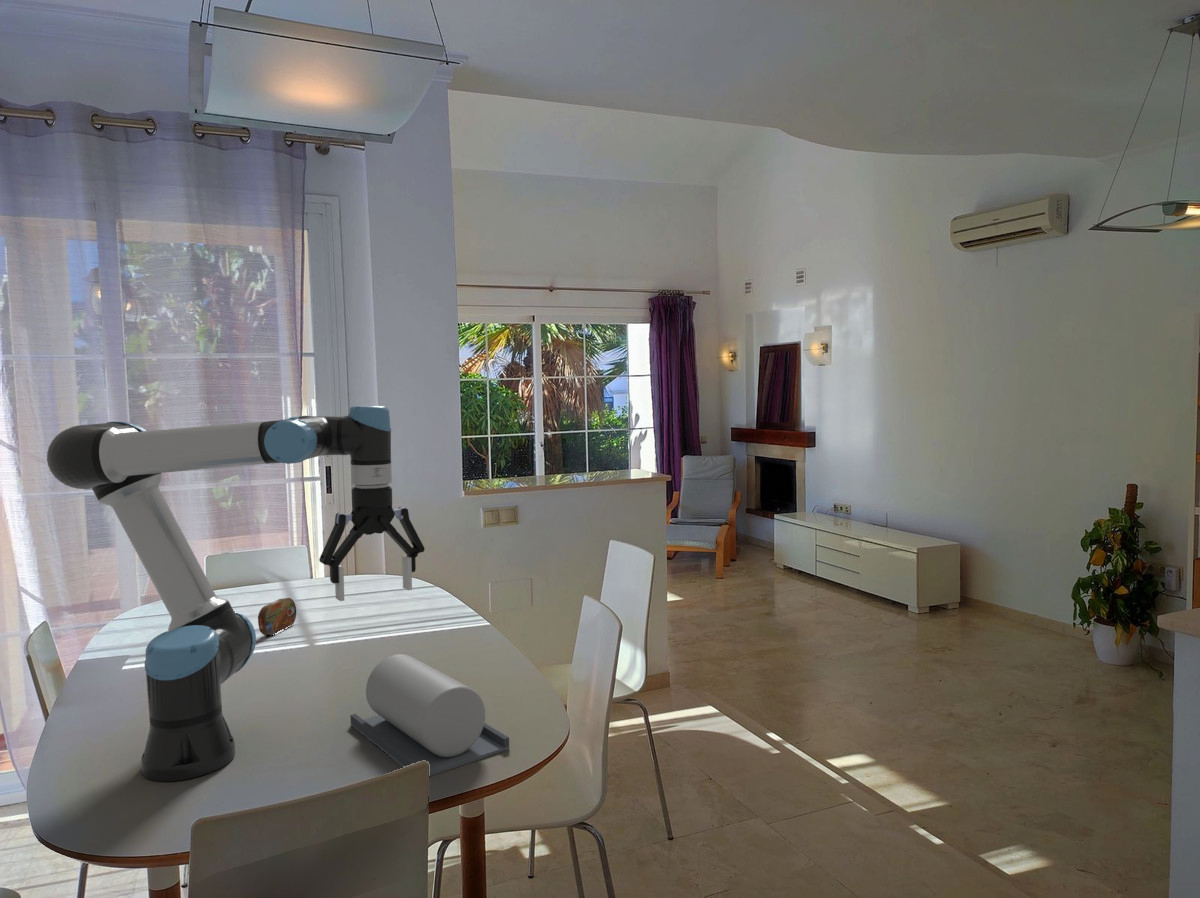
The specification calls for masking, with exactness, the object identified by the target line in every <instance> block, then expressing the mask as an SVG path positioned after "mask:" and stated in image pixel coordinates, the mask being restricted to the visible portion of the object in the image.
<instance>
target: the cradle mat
mask: <svg viewBox="0 0 1200 898" xmlns="http://www.w3.org/2000/svg"><path fill="white" fill-rule="evenodd" d="M349 715H350V716H349V717H350V718H349V719H350V727H352V726H353V727H354V728H355V729H356V731H357V732H358V731H359V732H360V733H361V734H360V733H359V732H358V733H359V734H360V735H362V734H363V735H364V736H365V737H366V738H365V739H367V740H368V741H369V740H370V741H371V742H370V741H369V742H370V743H372V742H373V743H374V744H375V745H377V746H378V747H379V748H380V749H381V750H380V749H379V748H378V747H377V746H376V747H377V748H378V749H379V750H380V751H382V750H383V751H384V752H385V753H386V754H385V753H384V752H383V751H382V752H383V753H384V754H385V755H387V754H388V755H389V756H390V757H391V758H390V757H389V756H388V755H387V756H388V757H389V758H390V759H392V760H393V761H394V762H395V763H397V765H399V766H400V767H401V768H403V766H407V765H410V764H412V763H416V762H418V761H422V760H426V761H428V762H429V764H430V776H429V777H433V776H434V775H437V774H438V775H439V774H440V773H444V772H447V771H449V770H452V769H453V770H454V769H455V768H459V767H462V766H464V765H467V764H470V763H472V762H475V761H479V760H482V759H485V758H488V757H491V756H495V755H497V754H500V753H502V752H503V753H504V752H505V751H509V750H510V737H508V735H505V734H504V733H502V732H500V731H499V730H497V729H495V728H494V727H492V726H490V725H489V724H487V723H486V722H485V723H484V727H483V730H482V732H481V734H480V736H479V738H478V739H477V741H476V742H475V743H474V744H473V745H472V746H471V747H470V748H469V749H468V750H467V751H465V752H464V753H462V754H460V755H457V756H454V757H441V756H438V755H435V754H434V753H432V752H431V751H429V750H428V749H427V748H425V747H424V746H422V745H421V744H419V743H418V742H417V741H415V740H414V739H412V738H411V737H410V736H408V735H407V734H405V733H404V732H402V731H401V730H400V729H398V728H397V727H395V726H394V725H392V724H391V723H390V722H388V721H387V720H385V719H384V718H383V717H381V716H380V715H378V714H376V715H375V716H370V717H366V718H361V716H359V715H358V714H357V713H353V714H349ZM353 727H352V728H353ZM354 728H353V729H354ZM355 729H354V730H355ZM363 735H362V736H363ZM364 736H363V737H364ZM373 743H372V744H373ZM374 744H373V745H374ZM375 745H374V746H375Z"/></svg>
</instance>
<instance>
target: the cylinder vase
mask: <svg viewBox="0 0 1200 898" xmlns="http://www.w3.org/2000/svg"><path fill="white" fill-rule="evenodd" d="M365 697H366V701H367V703H368V706H369V707H370V708H371V710H372V711H373V712H374V713H375V714H376V715H380V716H381V717H383V718H384V719H385V720H387V721H388V722H390V723H391V724H392V725H394V726H395V727H397V728H398V729H400V730H401V731H402V732H404V733H405V734H407V735H408V736H410V737H411V738H412V739H414V740H415V741H417V742H418V743H419V744H421V745H422V746H424V747H425V748H427V749H428V750H429V751H431V752H432V753H434V754H435V755H438V756H441V757H454V756H457V755H460V754H462V753H464V752H465V751H467V750H468V749H469V748H470V747H471V746H472V745H473V744H474V743H475V742H476V741H477V739H478V738H479V736H480V734H481V732H482V730H483V727H484V723H485V724H486V707H485V703H484V701H483V698H482V697H481V696H480V695H479V693H478V692H477V691H476V690H474V689H473V688H470V687H469V686H467V685H465V684H463V683H462V682H460V681H458V680H456V679H454V678H452V677H451V676H449V675H447V674H444V673H442V672H441V671H439V670H438V669H436V668H433V667H431V666H429V665H428V664H426V663H424V662H422V661H420V660H419V659H417V658H415V657H413V656H410V655H408V654H405V653H404V654H392V655H390V656H388V657H386V658H384V659H383V660H381V661H380V662H379V663H378V664H377V665H376V666H375V667H374V668H373V669H372V671H371V673H370V675H369V676H368V679H367V682H366V686H365Z"/></svg>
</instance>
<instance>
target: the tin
mask: <svg viewBox="0 0 1200 898" xmlns="http://www.w3.org/2000/svg"><path fill="white" fill-rule="evenodd" d="M296 606H297V605H296V603H295V601H294V600H293V598H291V597H285V598H284V597H283V598H278V599H276V600H275V601H273V602H270V603H268V604H266V605H264V606H263V607H261V608H260V611H259V612H258V615H257V623H258V624H257V625H258V629H259V632H260V633H261V635H263V636H272V635H273V634H275V633H277V632H278V631H280V630H282V629H285V628H286V627H288V626H290V625H292V624H293V625H294V623H295V621H296V618H297V607H296ZM293 625H292V626H293Z"/></svg>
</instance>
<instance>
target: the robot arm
mask: <svg viewBox="0 0 1200 898" xmlns="http://www.w3.org/2000/svg"><path fill="white" fill-rule="evenodd" d="M390 417H391V416H390V411H389V408H388V407H386V406H384V405H352V406H351V407H350V408H349V412H348V415H342V416H333V415H332V416H326V415H325V416H324V415H321V416H320V415H319V416H317V415H316V416H314V415H311V416H310V415H300V416H292V417H288V418H285V419H279V420H268V421H254V422H242V423H229V424H217V425H206V426H205V425H204V426H195V427H192V426H191V427H182V428H181V427H180V428H169V429H168V428H167V429H159V430H146V429H145V428H143V427H141V426H140V425H137V424H135V423H131V422H124V421H108V422H106V423H104V422H103V423H95V424H94V423H93V424H80V425H75V426H71V427H68V428H65V430H64V429H63V430H62V431H61V432H59V433H58V434H57V435H55V437H54V439H52V441H51V442H50V444H49V446H48V449H47V452H46V461H47V462H46V463H47V466H48V468H49V471H50V472H51V474H52V475H53V477H54V478H55V479H56V480H57V481H58V482H60V483H62V484H63V485H64V486H68V487H69V488H73V489H76V490H77V489H79V490H90V489H91V490H92V491H93V493H94V494H93V495H95V497H96V499H97V501H98V502H99V503H100V504H103V505H106V506H109V507H110V508H112V509H113V511H114V513H115V515H116V516H117V519H118V521H119V522H120V524H121V526H122V528H123V531H125V533H126V536H127V537H128V539H129V541H130V543H131V545H132V547H133V548H134V550H135V552H136V554H137V555H138V557H139V560H140V562H141V564H142V566H143V567H144V569H145V571H146V573H147V575H148V577H149V578H150V580H151V581H152V584H153V586H154V587H155V589H156V591H157V594H158V595H159V597H160V599H161V600H162V603H163V605H164V606H165V608H166V610H167V612H168V613H169V616H170V618H171V621H170V623H169V626H168V628H167V630H166V631H164V632H162V633H159V634H158V635H156V636H155V637H154V638H153V639H151V640H150V641H149V643H148V644H147V646H146V648H145V661H144V671H145V678H146V691H147V703H148V714H149V715H148V716H149V731H148V734H147V739H146V743H145V747H144V752H143V753H142V756H141V759H140V764H141V767H140V768H141V774H142V776H143V777H145V778H146V779H148V780H151V781H156V782H175V781H176V782H177V781H183V780H184V781H185V780H190V779H193V778H198V777H201V776H205V775H208V774H210V773H212V772H215V771H217V770H219V769H222V768H224V767H225V766H226V765H227V764H229V763H230V762H231V761H233V759H234V758H235V755H236V744H235V743H236V742H235V739H234V737H233V735H232V734H231V731H230V728H229V726H228V723H227V722H226V719H225V717H224V715H223V705H222V689H221V688H222V684H224V682H226V681H227V680H228V679H229V678H230V677H232V676H233V675H234V674H236V673H239V671H240V670H242V669H243V667H245V665H246V664H247V663H248V661H249V660H250V658H252V655H253V653H254V651H255V650H256V645H257V644H256V643H257V635H256V630H255V627H254V625H253V623H252V622H251V621H250V619H248V617H247V616H246V615H244V614H242V613H239V612H237V611H234V609H233V606H232V605H231V603H230V601H229V600H228V599H227V598H223V597H219V596H218V595H216V592H215V591H214V589H213V587H212V584H211V583H210V582H209V580H208V578H207V576H206V574H205V572H204V570H203V568H202V567H201V565H200V563H199V561H198V559H197V557H196V555H195V554H194V552H193V549H192V548H191V546H190V544H189V542H188V540H187V539H186V537H185V535H184V533H183V530H182V529H181V526H180V525H179V523H178V521H177V520H176V518H175V516H174V514H173V511H172V510H171V509H170V506H169V504H168V503H167V500H166V499H165V496H164V495H163V493H162V491H161V489H160V484H161V481H162V478H163V474H165V473H174V472H177V473H178V472H187V471H188V472H189V471H201V470H211V469H220V468H221V469H222V468H234V467H244V466H245V467H246V466H247V467H248V466H256V465H257V466H258V465H268V464H272V465H273V464H287V465H288V464H289V465H290V464H291V465H292V464H298V463H302V462H304V461H306V460H310V459H313V458H316V457H321V456H350V467H351V468H350V477H351V478H350V481H351V485H352V486H354V487H352V489H351V507H352V510H351V513H341V512H337V513H336V514H335V516H334V525H333V528H332V530H331V532H330V534H329V536H328V539H327V541H326V543H325V545H324V547H323V550H322V552H321V554H320V557H319V559H318V560H319V562H320V564H323V565H325V566H329V578H330V579H329V580H330V582H331V583H332V584H334V586H335V587H334V589H335V599H336V600H338V601H339V602H343V601H344V602H345V573H344V572H345V571H344V570H345V569H344V566H343V565H341V563H342V562H343V561H344V559H345V558H346V556H347V555H348V553H349V552H350V551H351V550H352V549H353V547H354V546H355V544H356V543H357V542H358V540H360V539H361V538H362V536H363V535H366V536H368V535H369V536H371V535H375V534H379V535H380V534H383V533H384V532H385V533H386V534H388V536H389V537H390V538H391V539H392V540H393V542H395V543H396V544H397V545H398V547H400V549H402V551H403V552H404V553H405V554H406V555H401V556H402V557H401V558H402V559H401V560H402V562H401V563H402V588H403V589H404V590H406V591H412V590H413V579H412V577H413V576H412V574H413V573H416V570H417V569H416V566H417V565H416V558H417V557H418V555H419V554H421V553H423V552H425V547H424V544H423V542H422V541H421V539H420V537H419V535H418V533H417V531H416V529H415V527H414V526H413V524H412V522H411V520H410V515H409V510H408V508H407V507H404V506H403V507H402V506H399V507H398V508H397V509H396V508H395V509H393V487H391V485H390V484H391V483H393V480H392V479H393V478H392V427H391V419H390ZM394 517H395V518H396V519H397V520H398V521H399V522H400V524H401V526H402V528H403V530H404V532H405V534H406V536H407V538H408V540H409V542H410V543H408V541H407V540H406V539H405V538H404V537H403V536H402V535H401V534H400V533H399V532H398V531H397V529H396V528H395V527H394V525H393V524H392V523H391V522H392V521H393V519H394ZM350 521H351V522H352V523H353V527H352V528H351V529H350V530H349V532H348V535H347V536H346V537H345V538H344V540H343V541H342V543H341V544H340V545H339V542H340V540H341V538H342V537H343V536H342V535H343V534H344V532H345V528H346V526H348V524H349V522H350ZM338 545H339V546H338ZM411 545H412V546H411ZM337 546H338V547H337Z"/></svg>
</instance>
